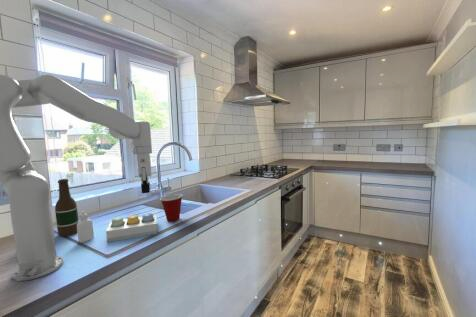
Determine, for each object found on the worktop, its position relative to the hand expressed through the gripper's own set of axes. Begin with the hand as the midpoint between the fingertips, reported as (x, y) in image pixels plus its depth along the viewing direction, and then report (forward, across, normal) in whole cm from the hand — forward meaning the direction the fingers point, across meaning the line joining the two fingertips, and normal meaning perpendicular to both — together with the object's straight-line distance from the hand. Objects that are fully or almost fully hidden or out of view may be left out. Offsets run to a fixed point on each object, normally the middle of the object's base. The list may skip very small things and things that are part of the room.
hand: (145, 192), depth 104 cm
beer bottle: (+17, +11, +33) cm, 39 cm away
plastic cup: (+17, +8, -11) cm, 22 cm away
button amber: (+14, 0, +6) cm, 15 cm away
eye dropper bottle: (+17, 0, +24) cm, 30 cm away
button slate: (+14, 0, 0) cm, 14 cm away
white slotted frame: (+17, 0, +6) cm, 18 cm away
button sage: (+14, 0, +12) cm, 18 cm away
